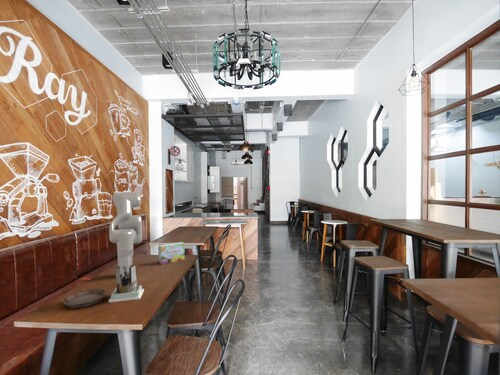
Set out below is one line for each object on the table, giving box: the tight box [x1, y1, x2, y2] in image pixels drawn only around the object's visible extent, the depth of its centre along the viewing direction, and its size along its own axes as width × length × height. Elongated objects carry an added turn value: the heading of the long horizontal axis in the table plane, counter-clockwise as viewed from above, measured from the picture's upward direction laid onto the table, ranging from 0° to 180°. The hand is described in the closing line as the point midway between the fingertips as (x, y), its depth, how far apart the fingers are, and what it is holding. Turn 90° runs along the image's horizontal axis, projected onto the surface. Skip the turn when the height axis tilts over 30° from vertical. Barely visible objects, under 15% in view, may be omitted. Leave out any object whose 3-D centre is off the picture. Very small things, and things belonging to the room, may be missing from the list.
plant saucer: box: [62, 288, 107, 309], centre depth 149 cm, size 21×21×3 cm
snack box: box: [157, 241, 185, 265], centre depth 226 cm, size 21×6×15 cm, turn 131°
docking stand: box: [108, 285, 145, 303], centre depth 154 cm, size 13×16×4 cm
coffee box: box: [115, 264, 138, 294], centre depth 155 cm, size 9×6×16 cm
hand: (126, 282), depth 154 cm, fingers open, 9 cm apart
